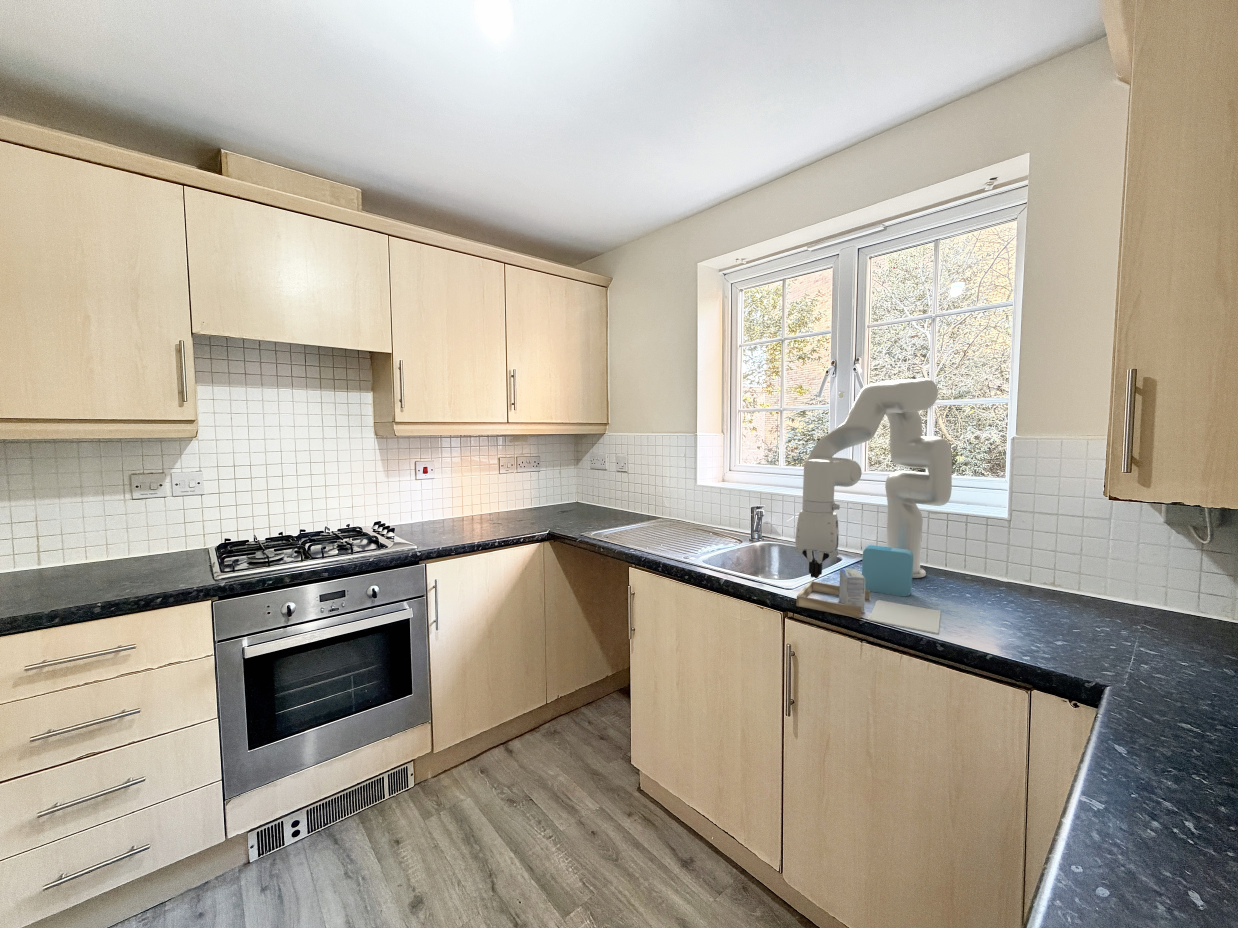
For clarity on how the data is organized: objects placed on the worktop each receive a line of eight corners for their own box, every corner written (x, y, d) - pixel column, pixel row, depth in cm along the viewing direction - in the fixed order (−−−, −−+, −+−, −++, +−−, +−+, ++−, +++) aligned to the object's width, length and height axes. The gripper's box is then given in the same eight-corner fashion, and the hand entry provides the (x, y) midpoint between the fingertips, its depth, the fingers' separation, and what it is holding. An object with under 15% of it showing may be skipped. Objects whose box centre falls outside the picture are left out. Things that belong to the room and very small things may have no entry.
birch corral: (810, 589, 143) (811, 580, 143) (869, 600, 135) (870, 590, 135) (796, 605, 131) (796, 596, 131) (860, 618, 123) (861, 608, 122)
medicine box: (864, 612, 126) (866, 578, 126) (845, 611, 127) (846, 576, 127) (856, 601, 134) (858, 569, 133) (838, 600, 135) (839, 567, 134)
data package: (911, 593, 141) (913, 550, 140) (910, 598, 137) (912, 553, 136) (863, 585, 148) (865, 544, 147) (861, 589, 144) (862, 547, 143)
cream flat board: (877, 600, 135) (877, 599, 135) (940, 611, 127) (940, 610, 127) (868, 620, 121) (868, 619, 121) (938, 634, 114) (938, 632, 114)
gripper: (851, 507, 133) (848, 577, 134) (792, 502, 141) (790, 568, 142) (846, 512, 126) (843, 585, 128) (784, 506, 135) (782, 575, 136)
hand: (815, 576), depth 135 cm, fingers closed
